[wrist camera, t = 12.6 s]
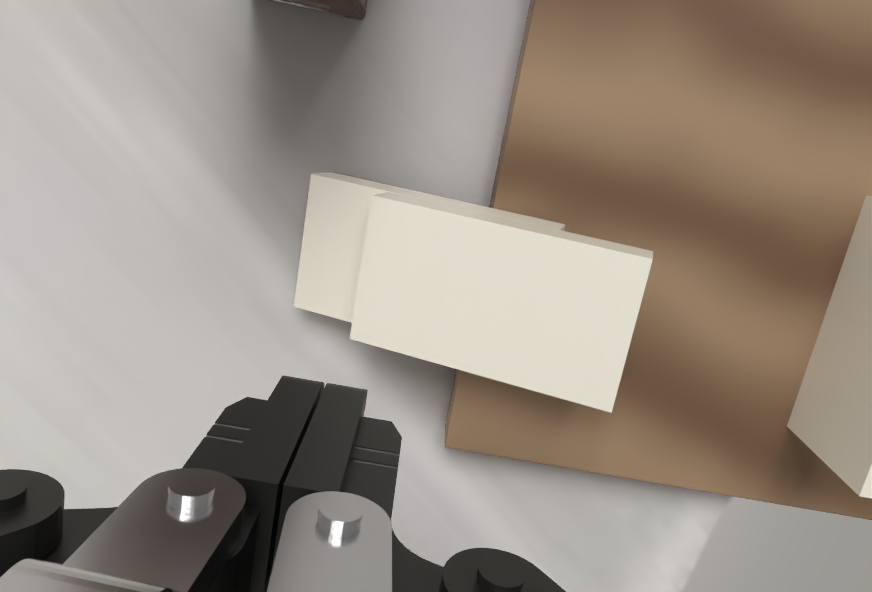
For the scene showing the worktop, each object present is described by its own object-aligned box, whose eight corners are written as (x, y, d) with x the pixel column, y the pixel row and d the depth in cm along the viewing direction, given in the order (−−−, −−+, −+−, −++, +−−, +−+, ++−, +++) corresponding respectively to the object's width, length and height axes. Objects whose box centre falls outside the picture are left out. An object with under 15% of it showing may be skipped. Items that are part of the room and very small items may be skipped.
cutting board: (551, -103, 24) (559, -118, 23) (1301, 46, 25) (1364, 41, 23) (445, 426, 30) (444, 446, 28) (1067, 533, 30) (1104, 559, 29)
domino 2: (614, 395, 24) (367, 327, 26) (653, 250, 22) (389, 191, 25) (611, 412, 22) (349, 338, 24) (652, 258, 21) (371, 195, 23)
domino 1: (534, 357, 26) (312, 297, 28) (565, 224, 25) (330, 171, 27) (527, 371, 25) (293, 306, 27) (559, 229, 23) (311, 173, 25)
